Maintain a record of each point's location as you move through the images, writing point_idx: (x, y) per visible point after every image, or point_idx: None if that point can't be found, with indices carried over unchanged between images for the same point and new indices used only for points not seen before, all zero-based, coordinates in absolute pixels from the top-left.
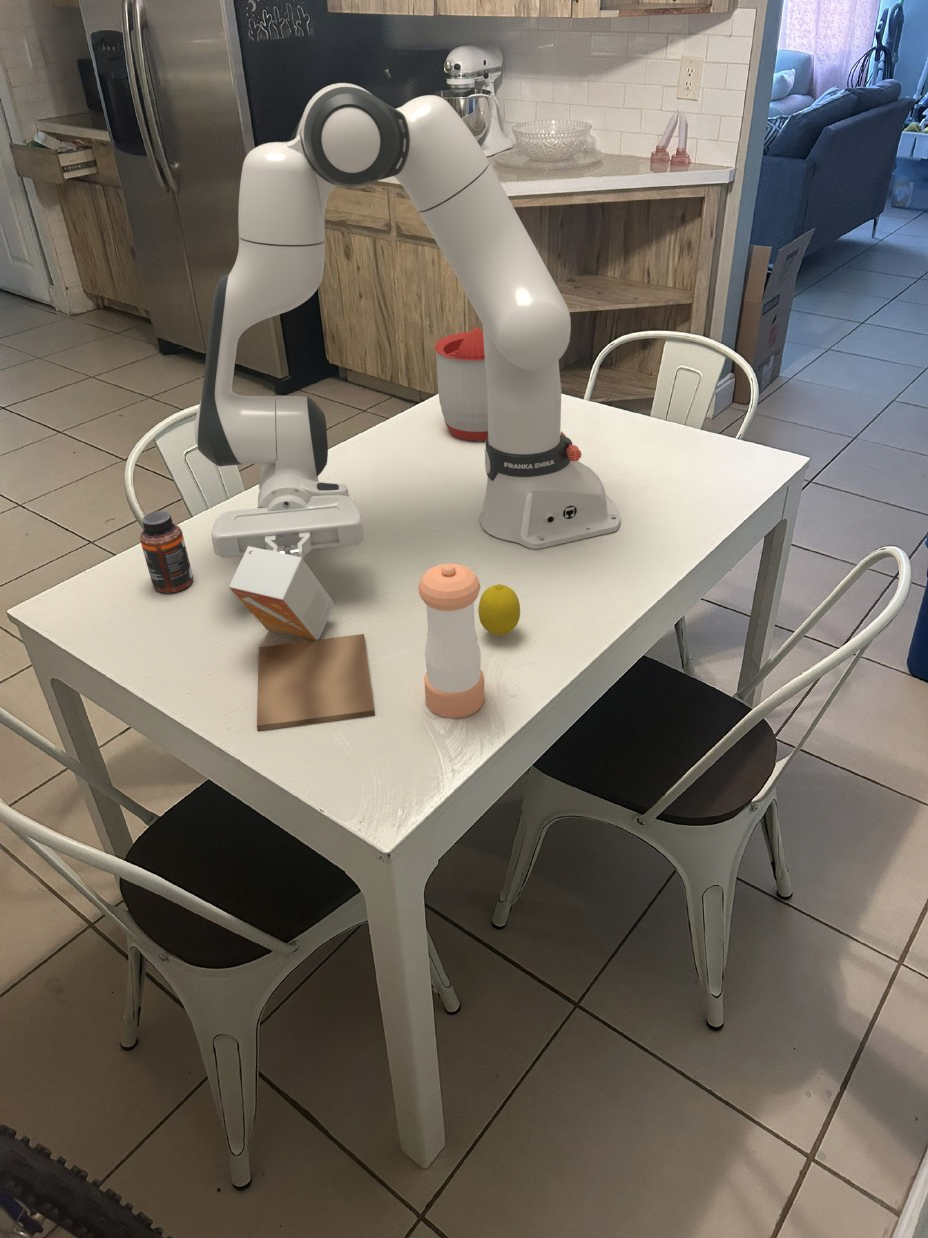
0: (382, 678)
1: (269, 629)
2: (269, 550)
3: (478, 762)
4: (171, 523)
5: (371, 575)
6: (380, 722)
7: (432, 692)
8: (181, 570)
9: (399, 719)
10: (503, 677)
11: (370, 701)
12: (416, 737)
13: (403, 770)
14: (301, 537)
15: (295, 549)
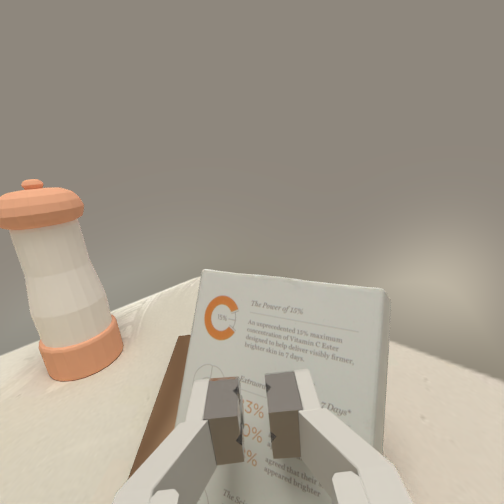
0: (147, 390)
1: None
2: (294, 279)
3: (122, 307)
4: None
5: None
6: (177, 335)
7: (115, 318)
8: None
9: (158, 338)
10: (6, 383)
11: (178, 345)
12: (153, 323)
13: (178, 302)
14: (167, 490)
15: (218, 385)
